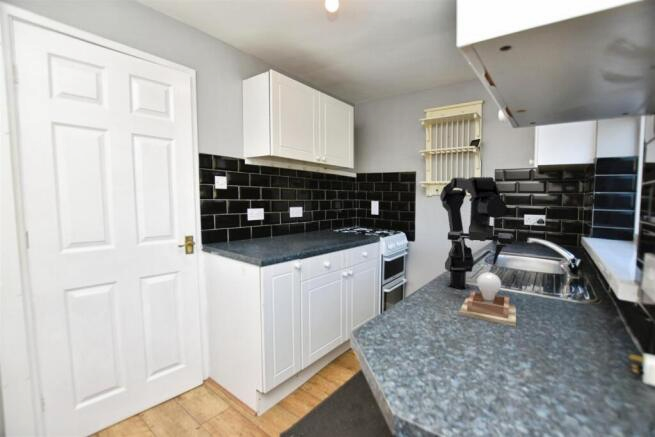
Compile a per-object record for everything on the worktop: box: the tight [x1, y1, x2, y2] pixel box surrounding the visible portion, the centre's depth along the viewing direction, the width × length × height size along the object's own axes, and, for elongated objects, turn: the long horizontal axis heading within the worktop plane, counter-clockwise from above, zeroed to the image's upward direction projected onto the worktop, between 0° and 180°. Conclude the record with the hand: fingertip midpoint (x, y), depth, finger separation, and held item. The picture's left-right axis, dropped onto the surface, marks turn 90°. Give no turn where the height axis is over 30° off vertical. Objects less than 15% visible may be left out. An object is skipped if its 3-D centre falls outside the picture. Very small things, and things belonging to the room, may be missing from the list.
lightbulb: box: [476, 272, 502, 304], centre depth 89 cm, size 6×6×11 cm
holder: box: [459, 290, 517, 328], centre depth 89 cm, size 14×14×4 cm
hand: (478, 262), depth 98 cm, fingers open, 9 cm apart
